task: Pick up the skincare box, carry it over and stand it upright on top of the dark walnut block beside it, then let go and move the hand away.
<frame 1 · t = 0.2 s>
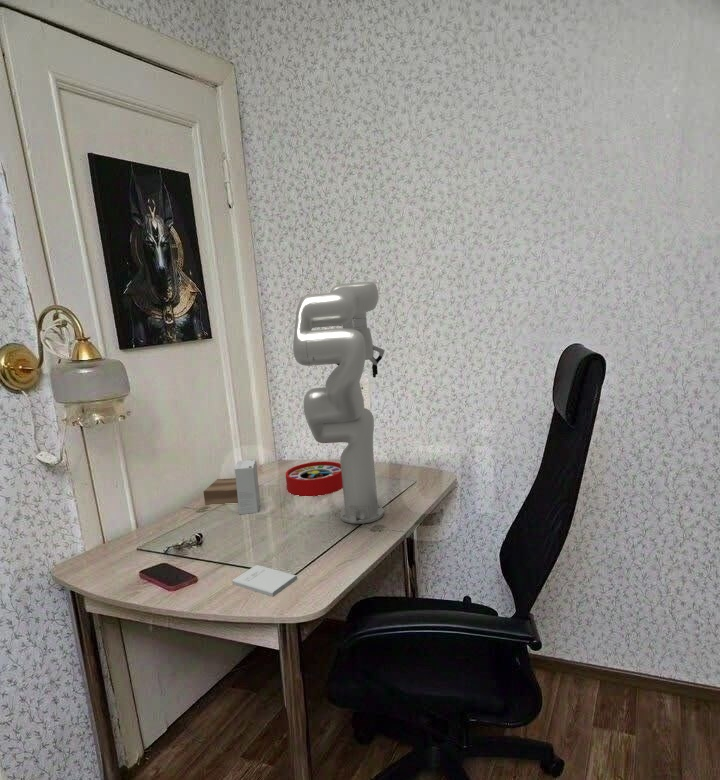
hand: (359, 378, 173), 37 cm above the table, tool pointing down, fingers open, 9 cm apart
walnut block: (229, 498, 180), on the table
skincare box: (250, 509, 168), on the table
toy clock: (316, 487, 184), on the table
external hard drive: (265, 584, 122), on the table
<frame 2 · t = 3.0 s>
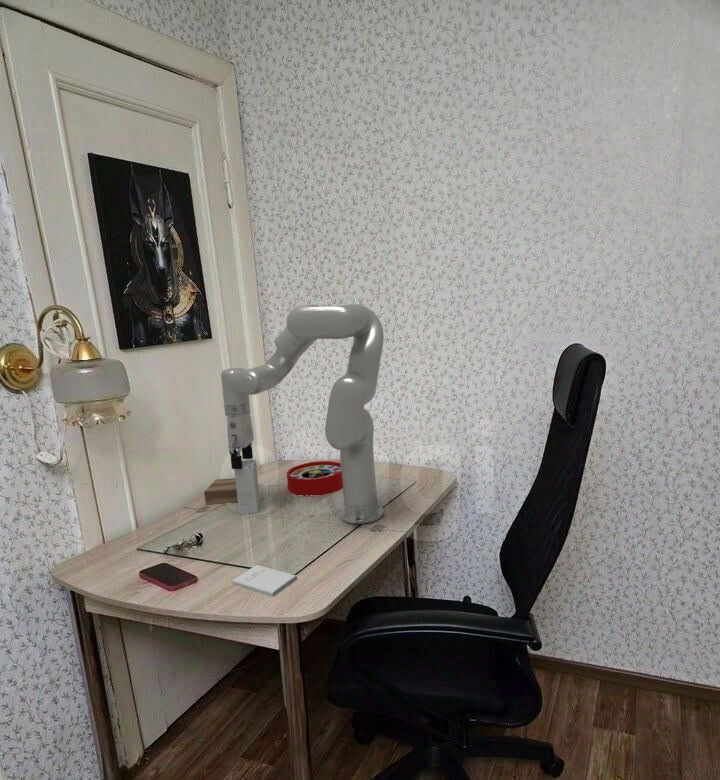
hand: (242, 463, 166), 15 cm above the table, tool pointing down, fingers open, 9 cm apart
skincare box: (250, 509, 168), on the table, touching gripper
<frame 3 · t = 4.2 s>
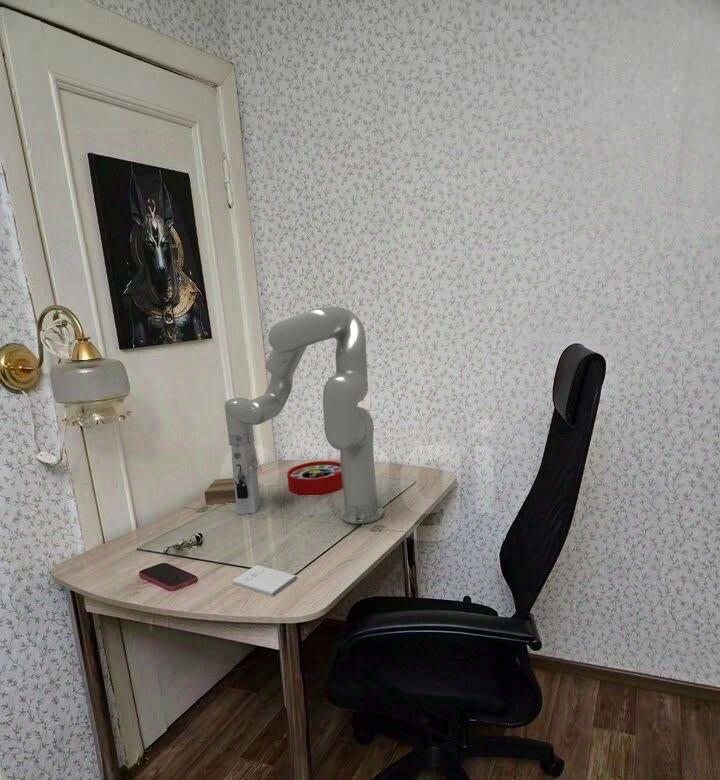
hand: (247, 492, 167), 5 cm above the table, tool pointing down, fingers closed on skincare box, 8 cm apart
skincare box: (249, 509, 168), on the table, touching gripper
everything else where it was.
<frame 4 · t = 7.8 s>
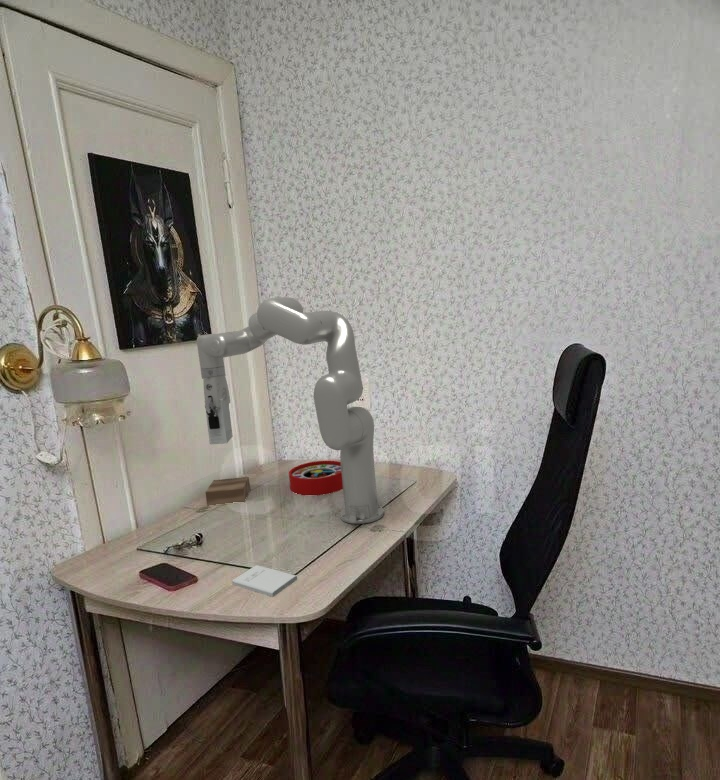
hand: (220, 425, 176), 25 cm above the table, tool pointing down, fingers closed on skincare box, 8 cm apart
skincare box: (222, 441, 177), point 19 cm above the table, touching gripper
when the fingers open (11 cm above the table, at t = 11.3 s): skincare box drops 1 cm, resting on walnut block.
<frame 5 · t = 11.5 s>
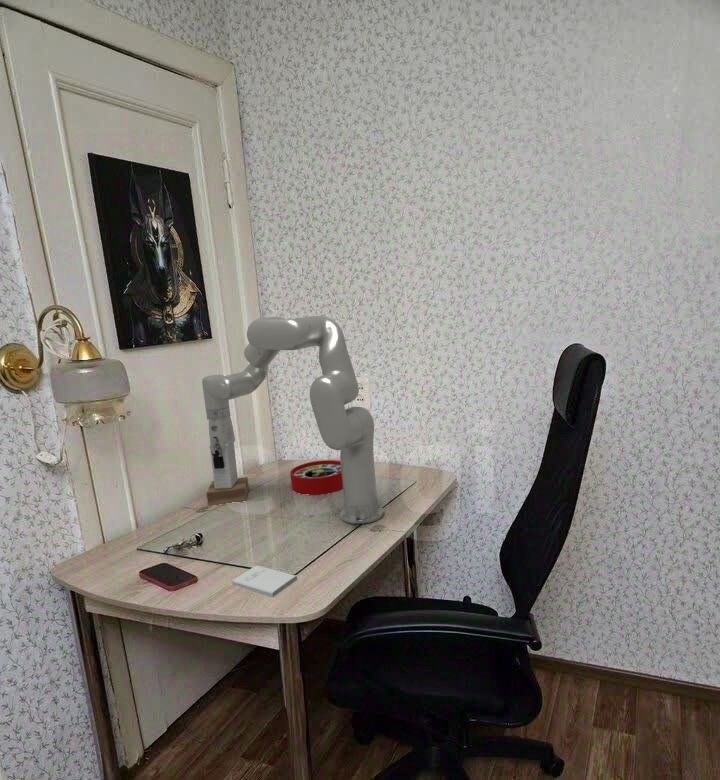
hand: (225, 463, 178), 12 cm above the table, tool pointing down, fingers open, 9 cm apart
walnut block: (229, 499, 180), on the table, touching skincare box
skincare box: (227, 485, 179), point 4 cm above the table, touching gripper, walnut block
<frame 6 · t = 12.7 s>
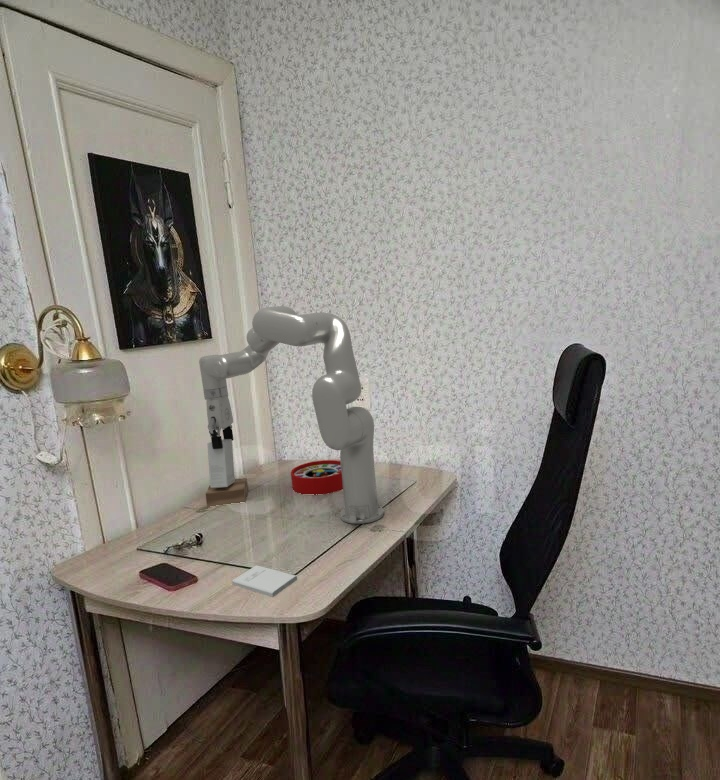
hand: (223, 444, 177), 18 cm above the table, tool pointing down, fingers open, 9 cm apart
walnut block: (228, 499, 179), on the table
skincare box: (223, 486, 177), point 5 cm above the table, touching gripper
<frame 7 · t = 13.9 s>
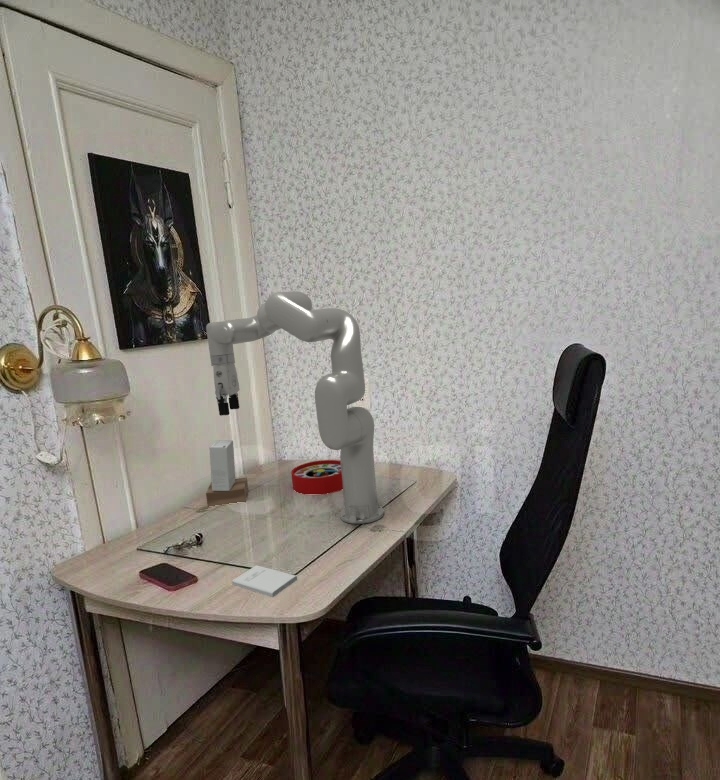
hand: (229, 411, 177), 29 cm above the table, tool pointing down, fingers open, 9 cm apart
skincare box: (224, 487, 177), point 4 cm above the table
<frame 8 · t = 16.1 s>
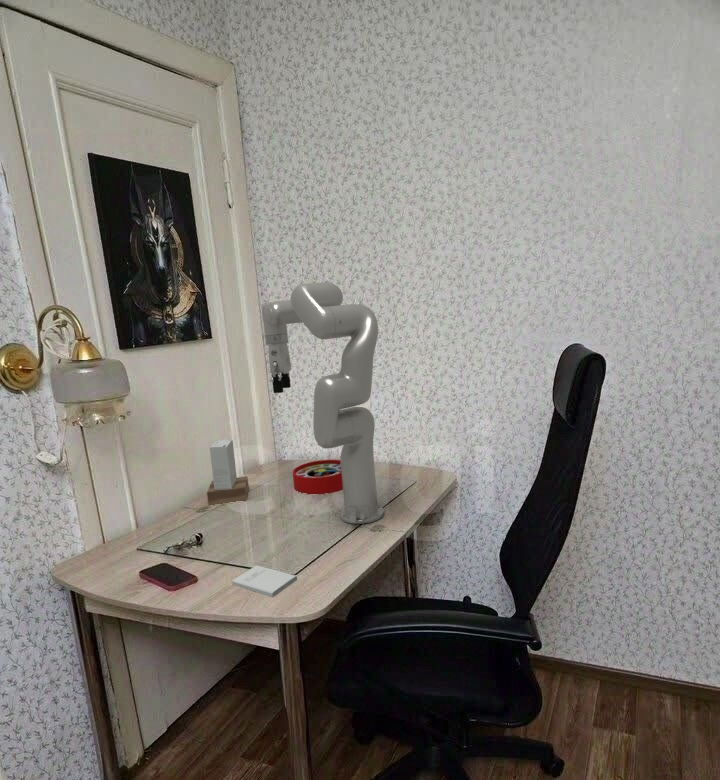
hand: (282, 390, 183), 33 cm above the table, tool pointing down, fingers open, 9 cm apart
walnut block: (229, 498, 181), on the table, touching skincare box
skincare box: (226, 486, 178), point 4 cm above the table, touching walnut block
at the end: skincare box inside the target area on the walnut block (1.8 cm from its centre), point 4.8 cm above the walnut block's base; skincare box tilted 0°; the gripper is holding nothing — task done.
